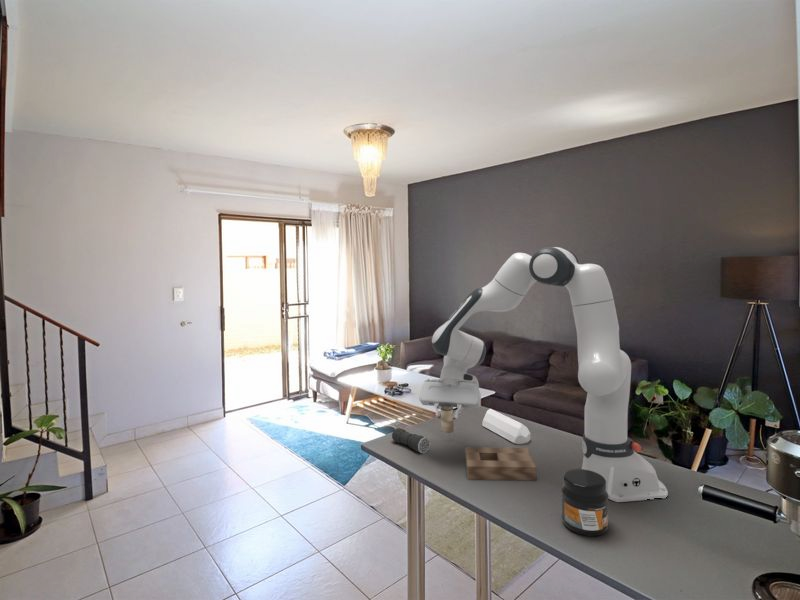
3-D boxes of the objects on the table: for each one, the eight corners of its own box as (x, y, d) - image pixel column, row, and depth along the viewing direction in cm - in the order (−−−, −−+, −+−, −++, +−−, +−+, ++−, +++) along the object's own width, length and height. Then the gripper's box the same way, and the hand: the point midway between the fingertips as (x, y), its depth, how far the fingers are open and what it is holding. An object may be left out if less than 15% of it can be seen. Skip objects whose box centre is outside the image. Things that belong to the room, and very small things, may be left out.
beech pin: (453, 428, 142) (452, 404, 141) (454, 433, 138) (453, 408, 137) (441, 428, 142) (440, 404, 142) (441, 433, 138) (440, 408, 138)
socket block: (527, 459, 142) (526, 447, 142) (536, 480, 128) (535, 467, 128) (465, 458, 144) (465, 447, 144) (467, 479, 130) (467, 466, 130)
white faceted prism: (475, 416, 174) (513, 437, 152) (488, 405, 176) (527, 424, 154) (483, 430, 176) (522, 453, 154) (496, 419, 178) (536, 440, 156)
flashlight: (390, 443, 160) (390, 428, 160) (401, 439, 164) (401, 425, 163) (419, 455, 148) (418, 440, 148) (430, 450, 152) (430, 435, 152)
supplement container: (591, 544, 98) (591, 493, 98) (552, 522, 107) (552, 475, 106) (617, 527, 104) (617, 479, 103) (578, 508, 113) (578, 463, 112)
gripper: (421, 374, 149) (413, 411, 141) (480, 376, 142) (476, 415, 133) (425, 383, 153) (418, 419, 145) (483, 386, 146) (479, 425, 138)
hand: (446, 417), depth 139 cm, fingers closed on beech pin, 4 cm apart
